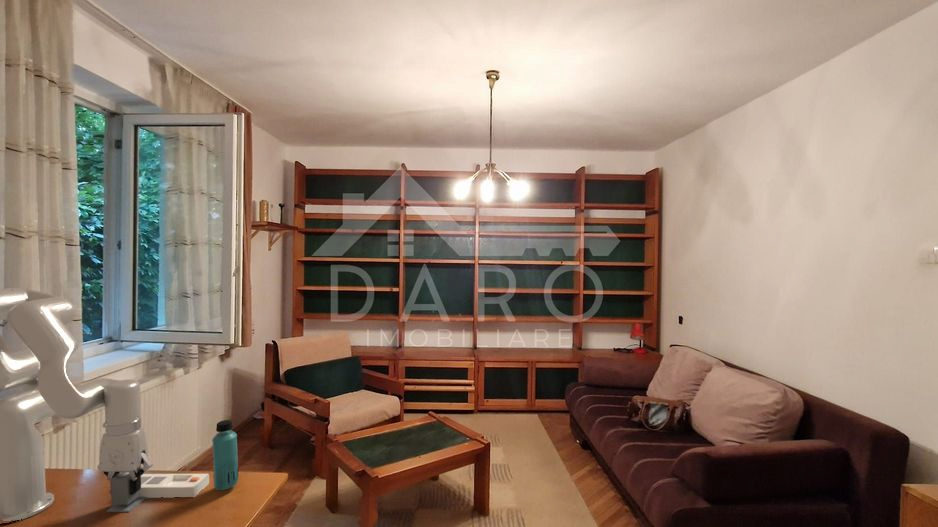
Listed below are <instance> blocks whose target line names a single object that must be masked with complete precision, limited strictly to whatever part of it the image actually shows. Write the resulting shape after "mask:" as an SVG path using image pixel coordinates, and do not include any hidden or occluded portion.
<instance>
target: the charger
mask: <svg viewBox="0 0 938 527" xmlns="http://www.w3.org/2000/svg"><path fill="white" fill-rule="evenodd" d="M135 471H136V473H137V470H135ZM130 480H132V479H131V476H130V472H120V473H119V474H118V475H116V476H115V477H113V478H112V479H111V485H110V497H111V498H110V500H111V502H110V504H111V505H112V506H113V505H128V504H130V503H131V502H132V501H133V500H135V499H136V498H137V497H139V496H140V495H141V492H140V490H138V491H137V492H136V493H135V494H133V495H130V482H129V481H130Z"/></svg>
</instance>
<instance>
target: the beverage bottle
mask: <svg viewBox="0 0 938 527" xmlns="http://www.w3.org/2000/svg"><path fill="white" fill-rule="evenodd" d="M232 429H233V421H232V420H231V419H225V420H221V421H218V422H217V423H216V429H215V431H216V432H218V433H216V435H215V436H214V437H213V438H212V439H211V440H212V454H213V456H212V459H213V460H212V464H213V466H212V470H213V471H212V472H213V480H212V481H213V482H212V484H213V487H214V489H215V490H217V491H218V490H219V491H220V490H221V491H222V490H228V489H230V488H233V487H234V486H236V485H237V484H238V482H239V476H240V475H239V472H240V471H239V464H238V463H239V460H238V458H239V457H238V447H239V446H238V434H237V433H236V432H235V431H233V430H232Z"/></svg>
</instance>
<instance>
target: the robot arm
mask: <svg viewBox="0 0 938 527" xmlns="http://www.w3.org/2000/svg"><path fill="white" fill-rule="evenodd" d="M76 316H77V311H76V307H75V306H74V304H73V303H72V302H71V301H70V300H68V299H67V298H64V297H62V296H59V295H55V294H50V293H46V292H42V291H38V290H33V289H29V288H25V287H7V288H0V321H5V320H7V322H8V324H9V325H10V327H12V329H13V331H14V333H16V334H17V336H18V337H19V338H20V339H21V341H22V342H23V344H25V346H26V347H27V348H28V349H23V350H18V351H14V352H13V351H12V350H11V348H10V347H9V345H8V343H7V342H6V339H5V338H4V337H3V335H1V334H0V394H1V393H5V392H7V391H10V390H15V389H17V388H20V387H21V389H22V390H21V391H18V392H16V393H12V394H10V395H6V396H4V397H2V398H0V520H3V521H11V520H19V521H22V520H25V519H27V518H28V519H29V518H30V517H32V516H35V515H37V514H39V513H41V512H43V511H44V510H45V509H47V508H49V507H50V506H51V505H52V504H53V503H54V501H55V495H54V494H53V493H52V492H47V489H46V488H47V486H46V468H45V467H46V466H45V447H44V446H45V444H44V443H45V442H44V438H43V436H42V434H41V432H39V430H38V429H37V428H36V427H35V425H36V424H38V423H39V422H42V421H44V420H45V419H48V418H50V417H52V416H54V415H58V416H59V417H61V418H64V419H68V420H75V419H78V418H81V417H83V416H85V415H88V414H89V413H92V412H93V411H96V410H98V409H101V408H103V407H104V418H105V421H104V422H103V424H102V428H105V433H103V434H102V436H101V441H100V446H99V458H98V459H99V460H98V465H97V470H99V471H100V472H102V473H103V474H104V475H105V476H106V477H107V480H108V482H110V483H109V484H110V486H111V479H112V478H113V477H115V476H116V475H118V474H119V473H121V472H130V476H131V479H132V480H130V481H129V482H130V495H133V494H135V493H136V492H137V491H138V490H140V489H141V475H143V474H145V472H146V471H148V470H149V469H151V468H152V467H154V464H153V462H152V461H151V460H150V459H149V458H148V457H149V450H148V443H147V436H146V433H145V429H144V428H143V427H142V405H141V384H140V382H139V381H138V380H137V379H121V380H119V379H112V378H104V377H103V378H96V379H93V380H91V381H88V382H85V383H83V384H79V385H78V386H75V385H74V383H72V382H71V379H70V378H69V376H68V374H67V362H68V360H69V359H70V357H71V355H72V354H73V353H75V352H76V351H77V350H78V348H79V341H78V340H77V339H76V337H74V336H73V334H72V333H71V332H70V330H69V329H68V328H67V325H69V324H70V323H72V322H73V321H74V320H75V318H76ZM136 470H137V473H136ZM21 519H22V520H21Z"/></svg>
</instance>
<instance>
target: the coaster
mask: <svg viewBox="0 0 938 527" xmlns="http://www.w3.org/2000/svg"><path fill="white" fill-rule="evenodd" d="M146 499H147V498H146V497H137V498H136V499H135V500H133V501H132V502H131V503H130V504H128V505H112V506H110V508H108V509H106V513H130V512H131V511H132V510H134V509H135V508H136V507H137V506H139V505H140V504H141V503H142V502H144V501H145V500H146Z"/></svg>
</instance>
